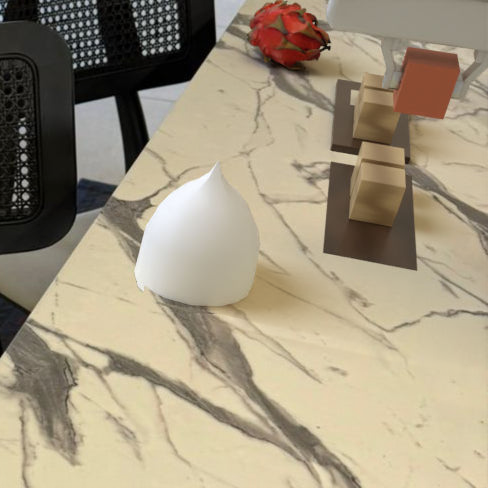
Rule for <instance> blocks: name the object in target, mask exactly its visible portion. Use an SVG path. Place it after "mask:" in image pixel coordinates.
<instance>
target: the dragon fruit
mask: <svg viewBox="0 0 488 488" xmlns="http://www.w3.org/2000/svg"><path fill="white" fill-rule="evenodd" d="M248 26H249V29H250V31H248V32H247V33H246V36H247V38H246V41H247V42H248V44H250V46H253V47H258V48H259V51H260V52H261V55H262V58H263V63H265V64H266V63H269V62H271V60H273V61H274V62H276V63H277V64H278V63H279V64H280V65H282V66H283V67H286V69H288V70H292V71H298V70H299V71H300V70H306V68H305V66H303V65H296V63H297V62H305V61H307V62H311V61H315V62H318V61H319V59H320V57H321V54H322V52H324V51H326V50H327V51H329V52H330V51H331V49H332V46H331V44H332V41H331V38H330V35H329V33H327V32H326V31H325V30H324V29H323V28H321V27H318V26H319V20H318V18H317V16H316V15H315V14H313V13H311V12H307V8H306V7H303V8H302V5H301V4H300V3H299V2H293V3H292V4H288V0H274V2H265V4H263V6H262V7H260V8H259V9H257V10H256V11H255V13H254V14H253V17H251V18H250V19H249V23H248ZM321 47H322V48H321Z"/></svg>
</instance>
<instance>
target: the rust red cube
mask: <svg viewBox="0 0 488 488" xmlns="http://www.w3.org/2000/svg"><path fill="white" fill-rule="evenodd" d="M401 65H402V66H403V68H404V73H403V76H402V80H401V81H400V86H399V89H398V90H394V92H393V109H394V112H398V113H404V114H408V115H410V116H411V115H412V116H418V117H423V118H430V119H437V120H444V119H445V117H446V113H447V111H448V107H449V105H450V102H451V96H452V93H453V90H454V87H455V85H456V82H457V79H458V76H459V74H461V73H460V72H461V68H460V67H461V66H460V61H459V56H458V54H457V53H454V52H453V53H452V52H447V51H441V50H440V51H439V50H433V49H427V48H419V47H412V46H411V47H410V46H407V47H406V50H405V53H404V57H403V60H402V63H401Z"/></svg>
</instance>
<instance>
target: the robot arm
mask: <svg viewBox="0 0 488 488" xmlns="http://www.w3.org/2000/svg"><path fill="white" fill-rule="evenodd" d="M325 19H326V21H327V23H328V25H329V26H330V28H331V29H332V30H336V31H342V32H350V33H356V34H364V35H370V36H376V37H382V38H381V41H380V45H381V47H380V48H381V53H382V57H383V61H384V64H385V72H384V75H383V76H384V78H383V83H382V88H384V89H392V90H398V89H399V86H400V81H401V80H402V76H403V73H404V68H403V66H402V64H396V61H395V59H394V52H397V51H398V50H399V46H400V44H401V40H405V41H412V42H419V43H425V44H433V45H438V46H439V45H440V46H445V47H452V48H460V49H466V50H473V58H474V61H473V62H472V63H471V64H470V65H469V66H468V67H467V68H466V69H465V70H464V71H463V72H462V73H459V76H458V79H457V82H456V85H455V87H454V90H453V93H452V96H451V99H452V100H456V101H457V100H458V101H465V99H466V97H467V93H468V91H469V89H470V86H471V83H473V82H474V81H475V80H476V79H478V78H479V77H480V76H481V75H482V74H483V73H484V72H485V71H487V70H488V0H328V1H327V5H326V9H325ZM393 51H394V52H393ZM451 99H450V100H451Z"/></svg>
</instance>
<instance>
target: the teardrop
mask: <svg viewBox="0 0 488 488" xmlns="http://www.w3.org/2000/svg"><path fill="white" fill-rule="evenodd" d="M259 232H260V231H259V228H258V225H257V223H256V220H255V218H254V215H253V213H252V211H251V208H250V206H249V203H248V202H247V201H246V199H245V198H244V196H242V194H241V192H239V190H238V189H237V188H236V187H235V186H233V185H232V184H231V183H229V181H228V180H227V178H226V177H225V176H224V174H223V171H222V166H221V162H220V159H218V160H217V162H216V163H215V165H214V166H213V167H212V168H211V170H210V171H208V172H207V173H205V174H203V175H202V176H200V177H198V178H195V179H193V180H189V181H187V182H185V183H184V184H182V185H181V186H179V187H178V188H176V189H174V190H173V191H171V193H169V194H168V195H167V196H166V197H165V198H164V199H163V200H162V201H161V202H160V203H159V205H158V206H157V208H156V210H155V211H154V213H153V214H152V216H151V217H150V219H149V220H148V222H147V224H146V225H145V228H144V232H143V235H142V239H141V244H140V247H139V251H138V255H137V259H136V263H135V267H134V271H133V274H134V273H135V274H134V277H135V281H137V282H136V285H137V288H138V289H140V291H141V292H144V290H145V288H147V289H148V290H149V291H151V292H153V293H155V294H157V295H158V296H160V297H162V298H164V299H167V300H171V301H174V302H177V303H182V304H185V305H188V306H195V307H197V306H198V307H223V306H227V305H228V306H229V305H233V304H236V303H238V302H239V301H241V300H243V299H245V298H246V297H247V296H248V295H249V293H250V291H251V289H252V288H253V285H254V282H255V276H256V271H257V265H258V259H259V255H260V248H261V239H260V233H259ZM157 303H158V304H160V305H162V306H165V307H168V308H172V309H175V310H179V311H182V312H186V313H189V314H214V315H215V313H214V312H211V311H204V310H200V309H196V308H195V309H194V308H190V307H184V306H181V305H175V304H171V303H170V304H169V303H165V302H160V301H157Z"/></svg>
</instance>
